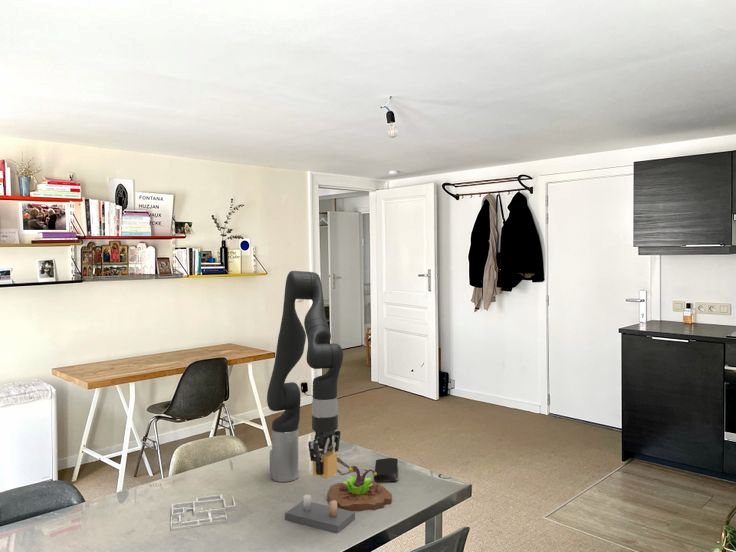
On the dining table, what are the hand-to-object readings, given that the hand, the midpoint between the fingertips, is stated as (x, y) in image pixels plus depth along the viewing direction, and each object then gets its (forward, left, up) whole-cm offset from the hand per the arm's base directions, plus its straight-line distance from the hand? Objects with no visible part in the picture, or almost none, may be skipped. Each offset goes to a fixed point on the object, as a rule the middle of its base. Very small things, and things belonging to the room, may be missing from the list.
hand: (324, 471), depth 163 cm
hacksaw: (-19, +44, -16) cm, 51 cm away
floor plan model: (-39, -8, -16) cm, 43 cm away
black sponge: (0, +43, -16) cm, 46 cm away
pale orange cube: (0, 0, -1) cm, 1 cm away
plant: (0, +20, -16) cm, 26 cm away
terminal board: (-3, +2, -15) cm, 16 cm away
